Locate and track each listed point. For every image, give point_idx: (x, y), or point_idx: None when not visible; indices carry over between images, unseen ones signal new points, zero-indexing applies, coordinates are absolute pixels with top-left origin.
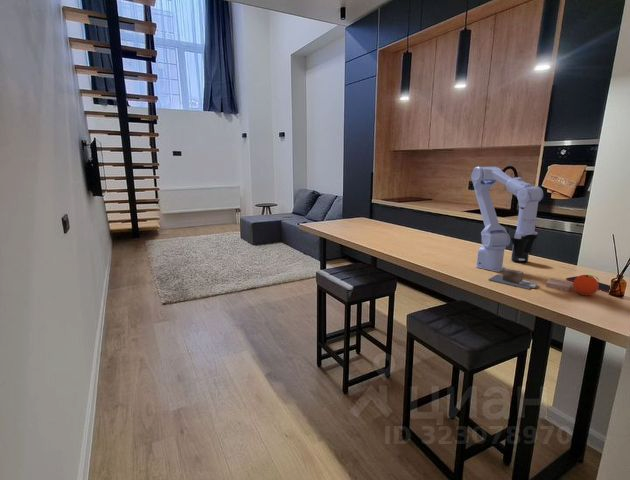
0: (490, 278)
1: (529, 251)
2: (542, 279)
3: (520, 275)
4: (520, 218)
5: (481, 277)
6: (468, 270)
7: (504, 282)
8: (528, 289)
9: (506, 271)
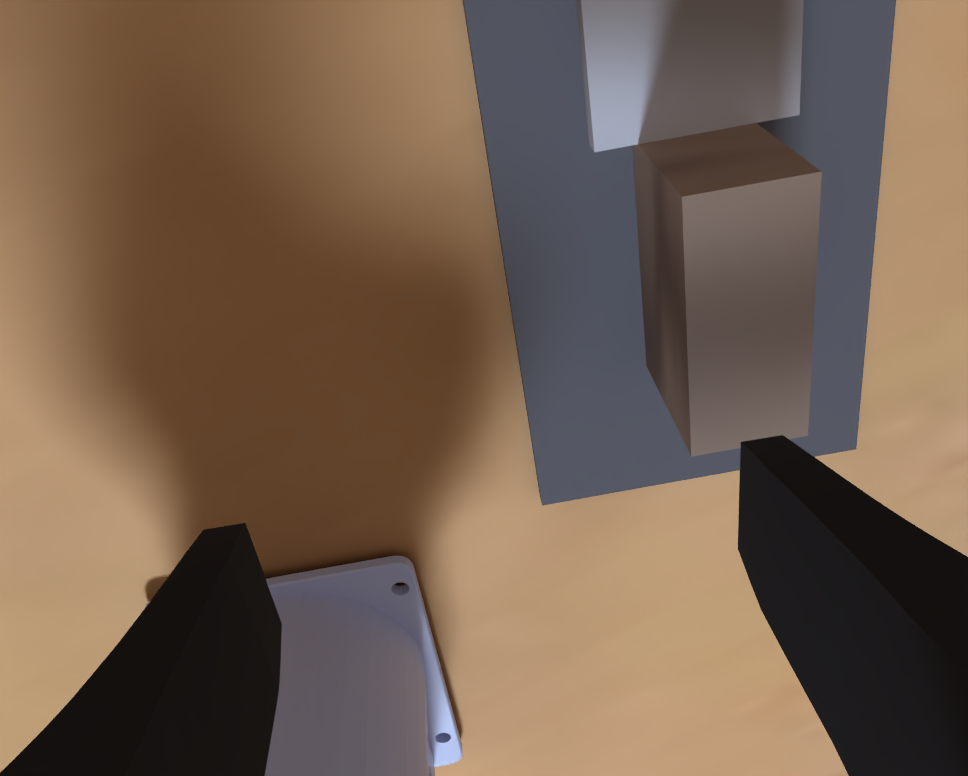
0: None
1: (200, 552)
2: (104, 37)
3: (805, 163)
4: None
5: None
6: (634, 720)
7: (847, 273)
8: None
9: (804, 386)
